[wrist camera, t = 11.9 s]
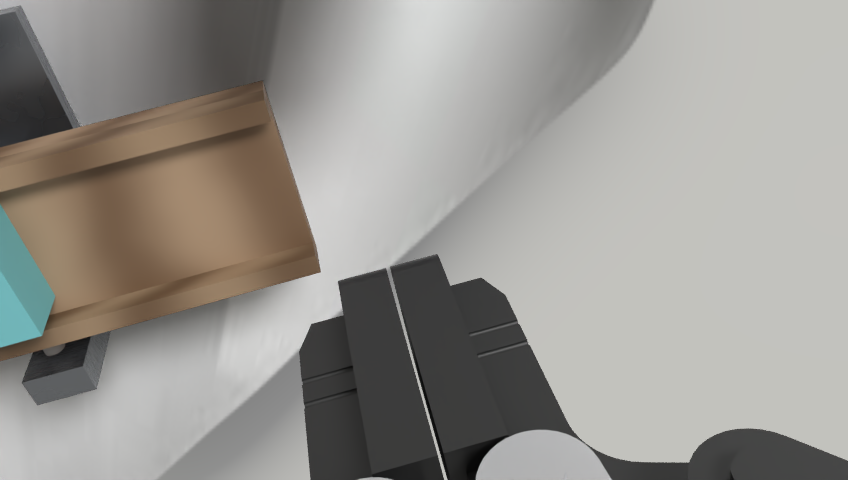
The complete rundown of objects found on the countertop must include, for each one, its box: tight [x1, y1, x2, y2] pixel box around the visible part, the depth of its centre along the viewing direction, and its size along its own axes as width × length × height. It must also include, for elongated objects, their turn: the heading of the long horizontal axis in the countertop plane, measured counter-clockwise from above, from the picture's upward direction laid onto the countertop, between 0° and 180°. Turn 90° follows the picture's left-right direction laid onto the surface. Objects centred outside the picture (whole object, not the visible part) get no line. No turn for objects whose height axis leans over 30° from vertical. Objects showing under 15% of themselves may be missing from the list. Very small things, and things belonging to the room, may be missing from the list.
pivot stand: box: [0, 6, 110, 405], centre depth 36 cm, size 8×18×8 cm, turn 11°
